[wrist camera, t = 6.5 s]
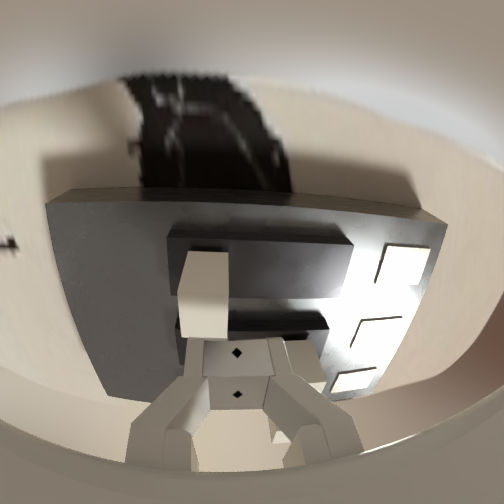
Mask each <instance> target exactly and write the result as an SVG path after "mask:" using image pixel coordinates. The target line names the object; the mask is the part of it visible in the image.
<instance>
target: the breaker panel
mask: <svg viewBox="0 0 504 504" xmlns="http://www.w3.org/2000/svg"><path fill="white" fill-rule="evenodd" d="M45 205H46V212H47V219H48V224H49V230H50V235H51V240H52V245H53V250H54V254H55V258H56V262H57V266H58V270H59V274H60V278H61V281H62V285H63V288H64V291H65V295H66V298H67V301H68V304H69V307H70V310H71V313H72V316H73V318H74V321H75V324H76V327H77V329H78V332H79V334H80V337H81V339H82V342H83V344H84V347H85V349H86V351H87V354H88V356H89V358H90V360H91V363H92V365H93V367H94V369H95V371H96V373H97V375H98V377H99V379H100V381H101V383H102V385H103V387H104V389H105V391H106V393H107V395H108V396H112V397H118V398H123V399H129V400H136V401H143V402H150V403H152V402H153V401H154V400H155V399H156V398H157V397H158V396H159V395H160V394H161V393H162V392H163V391H164V390H165V389H166V388H167V387H168V386H169V385H170V384H171V383H172V382H173V381H174V380H175V379H176V378H177V377H178V376H184V366H185V356H186V347H187V340H188V338H185V337H182V336H181V327H180V317H179V307H178V295H177V291H178V287H179V283H180V279H181V276H182V272H183V268H184V265H185V261H186V257H187V254H188V251H199V252H227V253H228V272H229V301H228V328H227V338H231V339H235V338H271V337H282V338H283V340H284V341H298V340H313V343H314V346H315V349H316V352H317V355H318V357H319V360H320V363H321V366H322V369H323V372H324V375H325V378H326V381H327V382H326V385H325V387H324V389H323V391H322V393H321V394H323V395H324V396H325V397H326V398H328V399H329V400H330V401H334V400H340V399H347V398H352V397H358V396H363V395H368V394H371V392H372V391H373V389H374V387H375V386H376V384H377V383H378V381H379V380H380V378H381V376H382V375H383V373H384V371H385V370H386V368H387V366H388V364H389V363H390V361H391V359H392V357H393V356H394V354H395V352H396V350H397V348H398V347H399V345H400V343H401V341H402V339H403V337H404V335H405V333H406V331H407V329H408V327H409V325H410V323H411V321H412V319H413V317H414V314H415V312H416V310H417V308H418V306H419V303H420V301H421V299H422V296H423V294H424V292H425V289H426V287H427V284H428V282H429V279H430V277H431V274H432V272H433V269H434V266H435V263H436V261H437V258H438V255H439V252H440V249H441V246H442V243H443V240H444V236H445V233H446V230H447V226H448V224H446V223H445V222H443V221H441V220H440V219H438V218H437V217H435V216H433V215H432V214H430V213H428V212H427V211H425V210H423V209H418V208H412V207H406V206H400V205H393V204H387V203H380V202H372V201H365V200H357V199H349V198H340V197H331V196H322V195H312V194H301V193H289V192H276V191H262V190H245V189H224V188H193V187H124V188H94V189H75V190H69V191H67V192H65V193H64V194H62V195H60V196H58V197H56V198H55V199H53V200H51V201H49V202H48V203H46V204H45Z"/></svg>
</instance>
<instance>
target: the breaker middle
mask: <svg viewBox="0 0 504 504" xmlns="http://www.w3.org/2000/svg"><path fill="white" fill-rule="evenodd" d="M284 344H285V347H286V351H287V355H288V358H289V362H290V365H291V369H292V373H293V375H297V374H298V375H299V376H300V377H301V378H303V379H304V380H305V381H306V382H308V383H309V384H310V385H311V386H313V387H314V388H315V389H316V390H318V391H319V392H320V393H322V391H323V389H324V387H325V385H326V382H327V381H326V378H325V375H324V372H323V369H322V366H321V363H320V360H319V357H318V355H317V352H316V349H315V346H314V343H313V340H298V341H284Z"/></svg>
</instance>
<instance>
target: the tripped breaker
mask: <svg viewBox="0 0 504 504" xmlns="http://www.w3.org/2000/svg"><path fill="white" fill-rule="evenodd" d="M177 295H178V307H179V317H180V327H181V336H182V337H185V338H188V337H198V338H227V328H228V301H229V272H228V253H227V252H199V251H188V254H187V257H186V261H185V265H184V268H183V272H182V276H181V279H180V283H179V287H178V291H177Z"/></svg>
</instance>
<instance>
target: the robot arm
mask: <svg viewBox="0 0 504 504" xmlns="http://www.w3.org/2000/svg"><path fill="white" fill-rule="evenodd" d="M230 409H263V411H264V412H265V413H266V414H267V415H268V417H269V418H270V419H271V420H272V421H273V422H274V423H275V425H276V426H277V427H278V428H279V429H280V430H281V431H282V432H283V433H284V435H285V436H286V437H287V438H288V439H289V440H290V441H291V442H292V443H291V445H290V447H289V449H288V451H287V452H286V455H285V456H284V458H283V465H284V468H282V469H272V470H263V471H246V472H199V463H198V459H197V455H196V452H195V448H194V444H193V440H192V437H193V435H194V434H195V432H196V431H197V430H198V428H199V427H200V425H201V424H202V422H203V421H204V420H205V418H206V417H207V415H208V414H209V412H210V410H230ZM0 504H504V385H503V386H502V387H500V388H499V389H497V390H496V391H494V392H493V393H491V394H490V395H488V396H487V397H485V398H484V399H482V400H480V401H479V402H477V403H475V404H474V405H472V406H470V407H469V408H467V409H465V410H463V411H461V412H459V413H458V414H456V415H454V416H452V417H450V418H448V419H446V420H444V421H442V422H440V423H438V424H436V425H434V426H432V427H429V428H427V429H425V430H423V431H420V432H418V433H416V434H413V435H411V436H408V437H406V438H403V439H400V440H398V441H395V442H392V443H389V444H387V445H384V446H381V447H378V448H375V449H371V450H368V451H364V449H363V446H362V443H361V441H360V438H359V435H358V433H357V430H356V427H355V425H354V422H353V419H352V417H351V416H350V415H349V414H347V413H346V412H345V411H343V410H342V409H341V408H339V407H338V406H337V405H335V404H334V403H333V402H332V401H330V400H329V399H328V398H326V397H325V396H324V395H323V394H321V393H320V392H319V391H318V390H316V389H315V388H314V387H313V386H311V385H310V384H309V383H308V382H306V381H305V380H304V379H303V378H301V377H300V376H299V375H298V374H297V375H293V373H292V369H291V365H290V362H289V358H288V355H287V351H286V347H285V344H284V340H283V338H282V337H271V338H235V339H231V338H198V337H188V340H187V347H186V356H185V366H184V376H178V377H177V378H176V379H175V380H174V381H173V382H172V383H171V384H170V385H169V386H168V387H167V388H166V389H165V390H164V391H163V392H162V393H161V394H160V395H159V396H158V397H157V398H156V399H155V400H154V401H153V402H152V403H151V404H150V405H149V406H148V407H147V408H146V409H145V410H144V411H143V412H142V413H141V414H140V415H139V416H138V417H137V418H136V419H135V420H134V421H133V422H132V423H131V428H130V434H129V439H128V445H127V451H126V458H125V463H122V462H117V461H112V460H108V459H104V458H100V457H96V456H92V455H89V454H85V453H82V452H78V451H75V450H72V449H69V448H66V447H63V446H60V445H57V444H54V443H52V442H49V441H46V440H44V439H41V438H39V437H37V436H34V435H32V434H29V433H27V432H25V431H23V430H20V429H18V428H17V427H14V426H12V425H10V424H8V423H6V422H5V421H3V420H1V419H0Z"/></svg>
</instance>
